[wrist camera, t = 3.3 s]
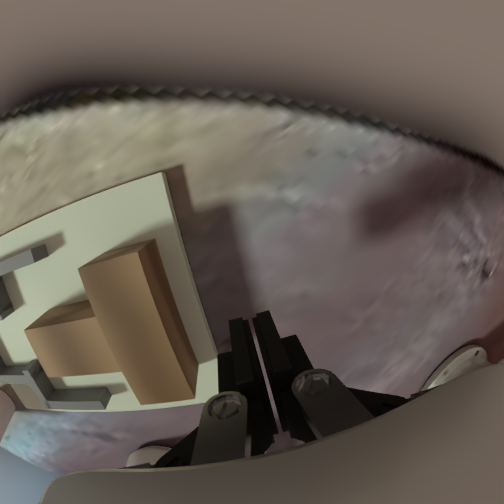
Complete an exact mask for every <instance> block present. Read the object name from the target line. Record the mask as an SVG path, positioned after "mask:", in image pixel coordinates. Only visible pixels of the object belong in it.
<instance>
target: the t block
mask: <svg viewBox="0 0 504 504" xmlns="http://www.w3.org/2000/svg"><path fill="white" fill-rule="evenodd" d="M78 272H79V275H80V277H81V280H82V283H83V286H84V289H85V291H86V294H87V296H88V299H89V300H86V301H81V302H77V303H73V304H68V305H64V306H60V307H55V308H51V309H49V310H47V311H46V312H45V313H44V314H43V315H41V316H40V317H39V318H38V319H37V320H35V321H34V322H33V323H32V324H31V325H29V326H28V327H27V328H26V329H25V330H24V332H25V334H26V336H27V339H28V341H29V343H30V345H31V347H32V349H33V351H34V352H35V354H36V356H37V358H38V360H39V362H40V364H41V365H42V367H43V369H44V371H45V372H46V374H47V376H48V377H67V376H82V375H95V374H105V373H115V372H122V373H123V375H124V377H125V378H126V380H127V382H128V384H129V386H130V387H131V389H132V391H133V393H134V394H135V396H136V398H137V399H138V401H139V403H140V404H141V405H148V404H158V403H167V402H176V401H183V400H190V399H195V395H196V385H197V377H198V368H199V364H198V361H197V359H196V356H195V354H194V351H193V349H192V346H191V344H190V341H189V338H188V336H187V333H186V330H185V328H184V325H183V322H182V319H181V317H180V314H179V311H178V308H177V305H176V302H175V300H174V297H173V294H172V291H171V288H170V285H169V282H168V279H167V275H166V272H165V269H164V266H163V263H162V259H161V256H160V253H159V249H158V246H157V243H156V239H155V238H153V239H150V240H146V241H143V242H139V243H135V244H132V245H129V246H125V247H122V248H118V249H115V250H111V251H108V252H105V253H103V254H101V255H99V256H98V257H96V258H94V259H93V260H91V261H89V262H88V263H86V264H84V265H83V266H81V267H80V268H78Z"/></svg>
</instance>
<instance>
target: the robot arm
mask: <svg viewBox="0 0 504 504" xmlns="http://www.w3.org/2000/svg"><path fill="white" fill-rule="evenodd" d="M256 316H257V317H255V318H252V321H253V325H254V328H255V332H256V336H257V339H258V343H259V347H260V351H261V354H262V358H263V362H264V365H265V369H266V373H267V376H268V380H269V384H270V387H271V391H272V394H273V398H274V401H275V405H276V409H277V412H278V416H279V419H280V423H281V426H282V430H283V432H286V431H289V433H290V436H291V438H295V439H298V440H301V441H303V444H301V445H298V446H294V447H290V448H287V449H283V450H279V451H275V452H271V453H267V451H266V450H267V449H268V448H269V447H270V445H271V444H272V443H275V441H274V437H273V435H274V434H278V430H277V426H276V422H275V418H274V415H273V411H272V407H271V403H270V399H269V396H268V392H267V388H266V384H265V380H264V376H263V372H262V369H261V365H260V362H259V358H258V355H257V351H256V347H255V344H254V340H253V337H252V333H251V329H250V326H249V322H248V319H247V320H243V319H242V317H241V318H237V319H233V320H229V327H230V337H231V346H232V351H231V352H226V353H222V354H218V355H217V364H218V393H219V394H216V395H214V396H212V397H211V398H210V399H208V401H207V402H206V403H205V405H204V407H203V410H202V414H201V419H200V423H199V426H198V427H197V428H196V429H195V430H193V431H192V432H191V433H190V434H189V435H188V436H186V437H185V438H184V439H183V440H182V441H180V442H179V443H178V444H177V445H175V446H174V447H173V448H172V449H171V450H169V451H168V452H167V453H166V454H164V455H163V456H162V457H161V458H160V459H159V460H158V461H157V462H156V463H155V464H154V465H151V464H150V463H144V464H139V465H134V466H129V467H124V468H118V469H93V470H85V471H78V472H74V473H69V474H66V475H63V476H60V477H58V478H56V479H55V480H54V481H52V482H51V483H50V484H49V485H48V487H47V488H46V490H45V492H44V493H43V495H42V497H41V499H40V502H39V504H504V359H503V358H501V359H500V360H498V361H497V362H496V363H495V364H491V363H490V362H488V361H487V354H486V351H485V350H484V349H483V348H482V347H480V346H479V345H475V344H473V345H468V346H466V347H463V348H461V349H460V350H458V351H456V352H455V353H454V354H452V355H451V356H450V357H449V358H447V359H446V360H445V361H444V362H443V363H442V364H441V365H440V366H439V367H438V368H437V369H436V371H435V372H434V373H433V374H432V375H431V377H430V378H429V379H428V380H427V382H426V383H425V385H424V386H423V388H422V389H421V391H420V392H417V393H414V394H411V396H410V398H408V399H405V398H404V397H400V396H396V395H389V394H382V393H376V392H370V391H364V390H358V389H353V388H348V387H346V386H345V385H344V384H343V383H342V382H341V381H340V380H339V379H338V378H337V376H336V375H335V374H333V373H332V372H331V371H329V370H326V369H314V368H313V366H312V364H311V362H310V361H309V359H308V357H307V355H306V353H305V351H304V349H303V347H302V345H301V343H300V341H299V339H298V337H297V336H296V335H292V336H288V337H285V338H281V339H280V336H279V334H278V331H277V329H276V326H275V324H274V322H273V319H272V317H271V314H270V312H269V310H268V311H264V312H261V313H257V314H256Z"/></svg>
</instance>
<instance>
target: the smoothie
mask: <svg viewBox="0 0 504 504" xmlns="http://www.w3.org/2000/svg"><path fill="white" fill-rule="evenodd" d="M15 410H16V407H15V405H14V403H13V401H12V400H11V398H10V397H9V396H8V395H7V394H6V393H5V392H3V391H2V390H0V442H1V439H2V437H3V435H4V433H5V430H6V428H7V426H8V424H9V422H10V420H11V418H12V416H13V414H14V412H15Z"/></svg>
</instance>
